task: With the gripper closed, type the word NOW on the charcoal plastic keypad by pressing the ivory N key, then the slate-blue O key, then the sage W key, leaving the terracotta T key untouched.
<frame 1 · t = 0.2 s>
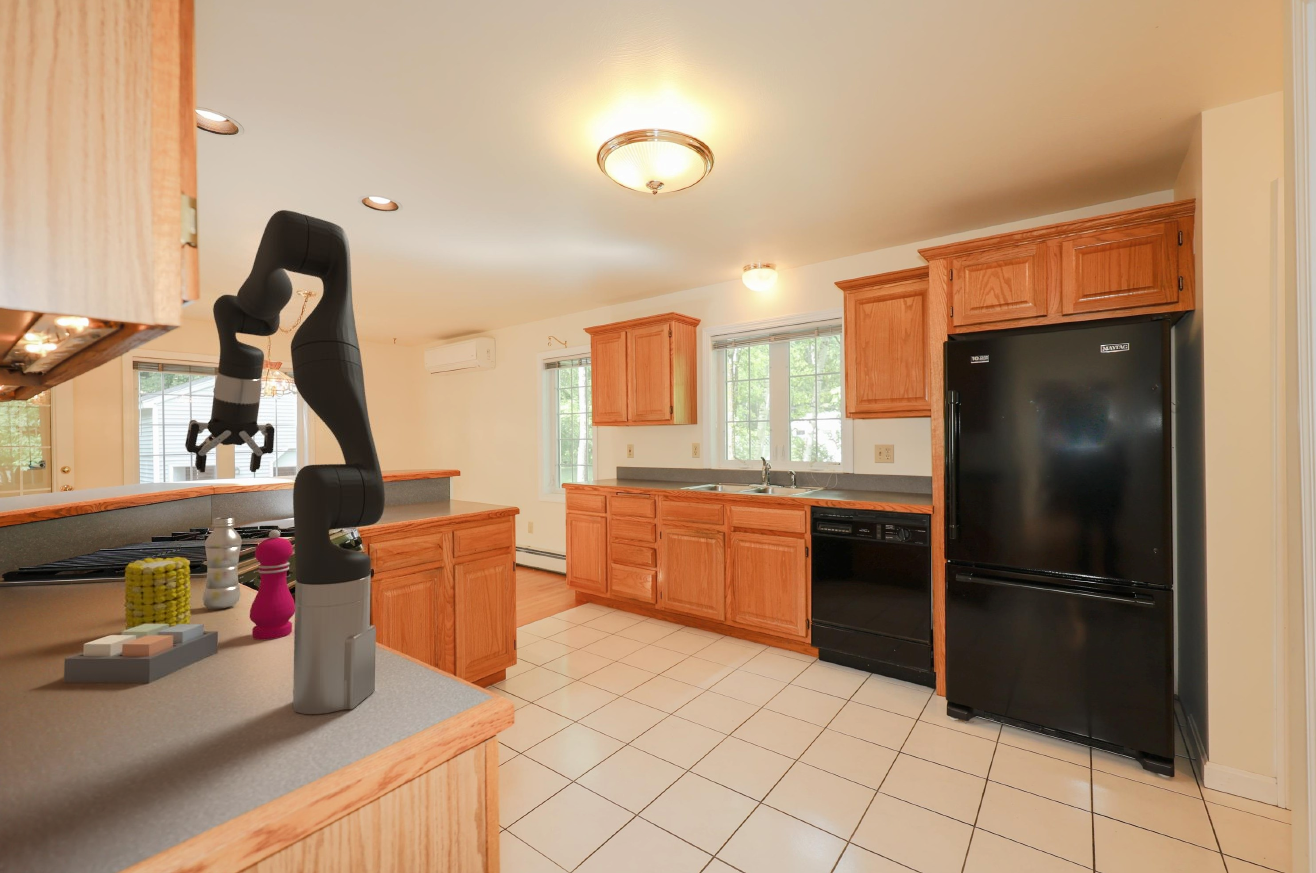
hand: (227, 471, 116), 31 cm above the counter, tool tilted 20°, fingers open, 8 cm apart
pepper mill: (272, 635, 107), on the counter
key T: (148, 650, 88), point 4 cm above the counter, slide at 0.0 cm
food: (157, 633, 108), on the counter
key N: (110, 649, 88), point 4 cm above the counter, slide at 0.0 cm
key W: (145, 637, 94), point 4 cm above the counter, slide at 0.0 cm
key O: (180, 637, 94), point 4 cm above the counter, slide at 0.0 cm
plastic bottle: (221, 608, 125), on the counter
keypad: (146, 666, 91), on the counter
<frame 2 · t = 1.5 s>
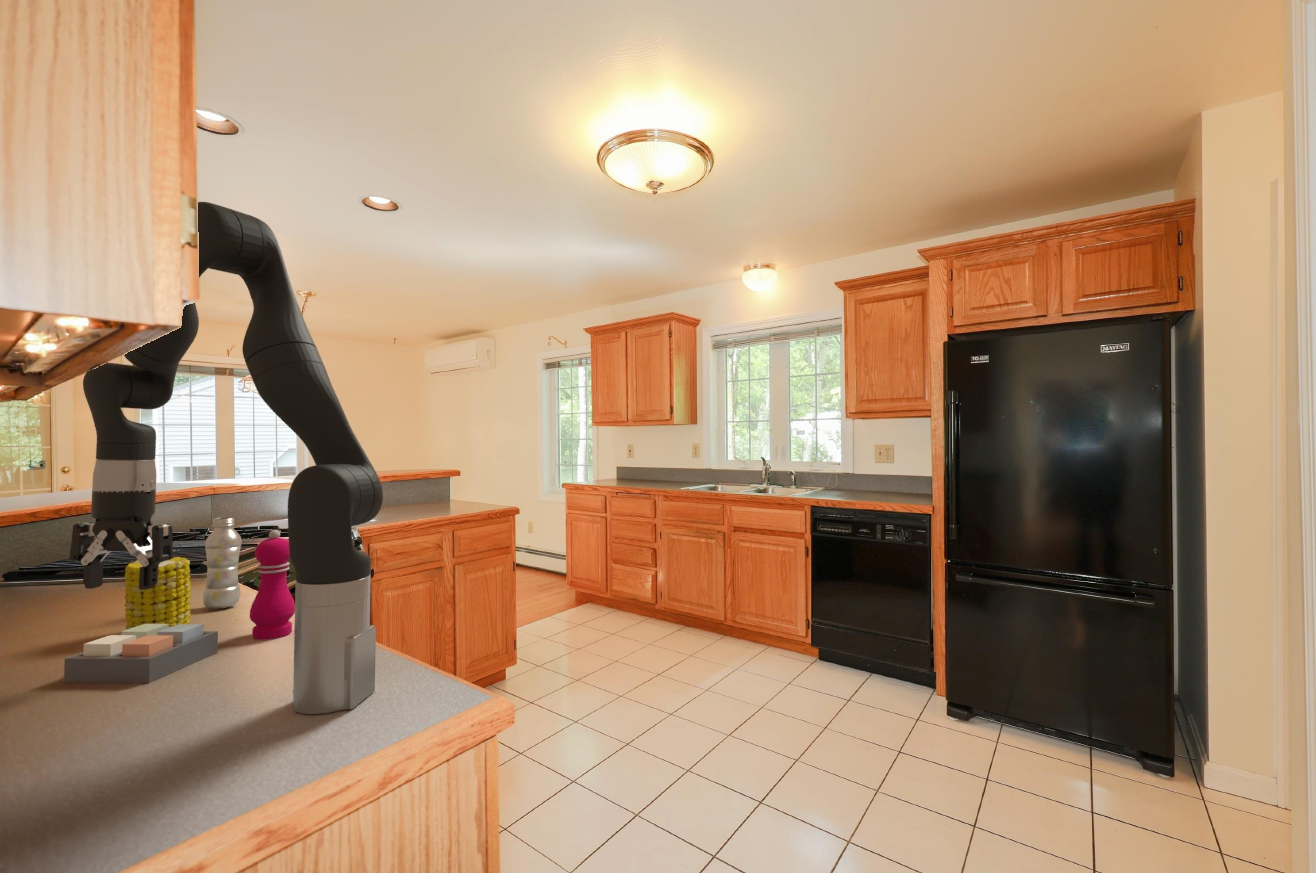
hand: (120, 588, 90), 13 cm above the counter, tool pointing down, fingers open, 8 cm apart
nothing on the counter moved.
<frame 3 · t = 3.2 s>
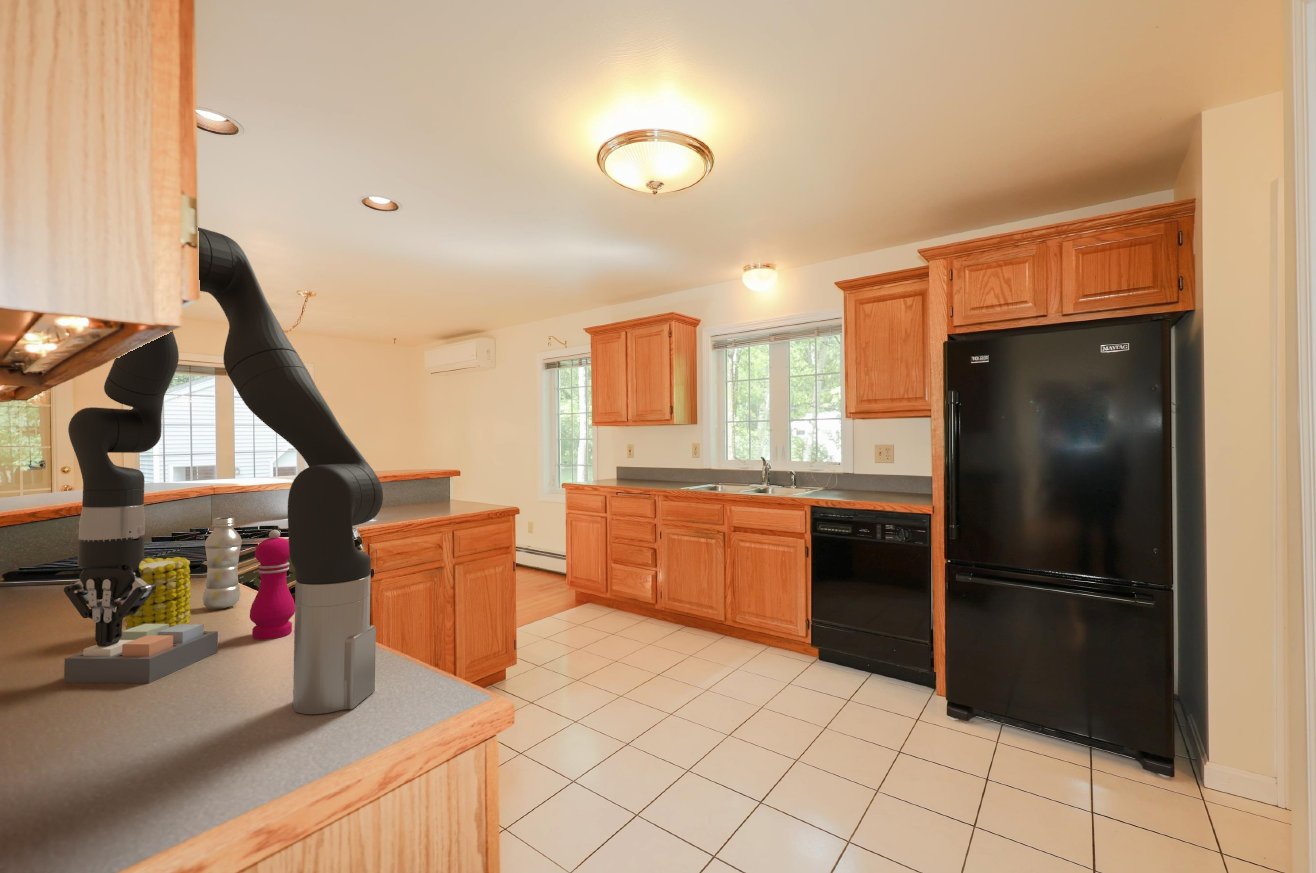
hand: (108, 644, 88), 5 cm above the counter, tool pointing down, fingers closed
key N: (110, 654, 88), point 3 cm above the counter, slide at -0.8 cm, touching gripper
everything else where it was.
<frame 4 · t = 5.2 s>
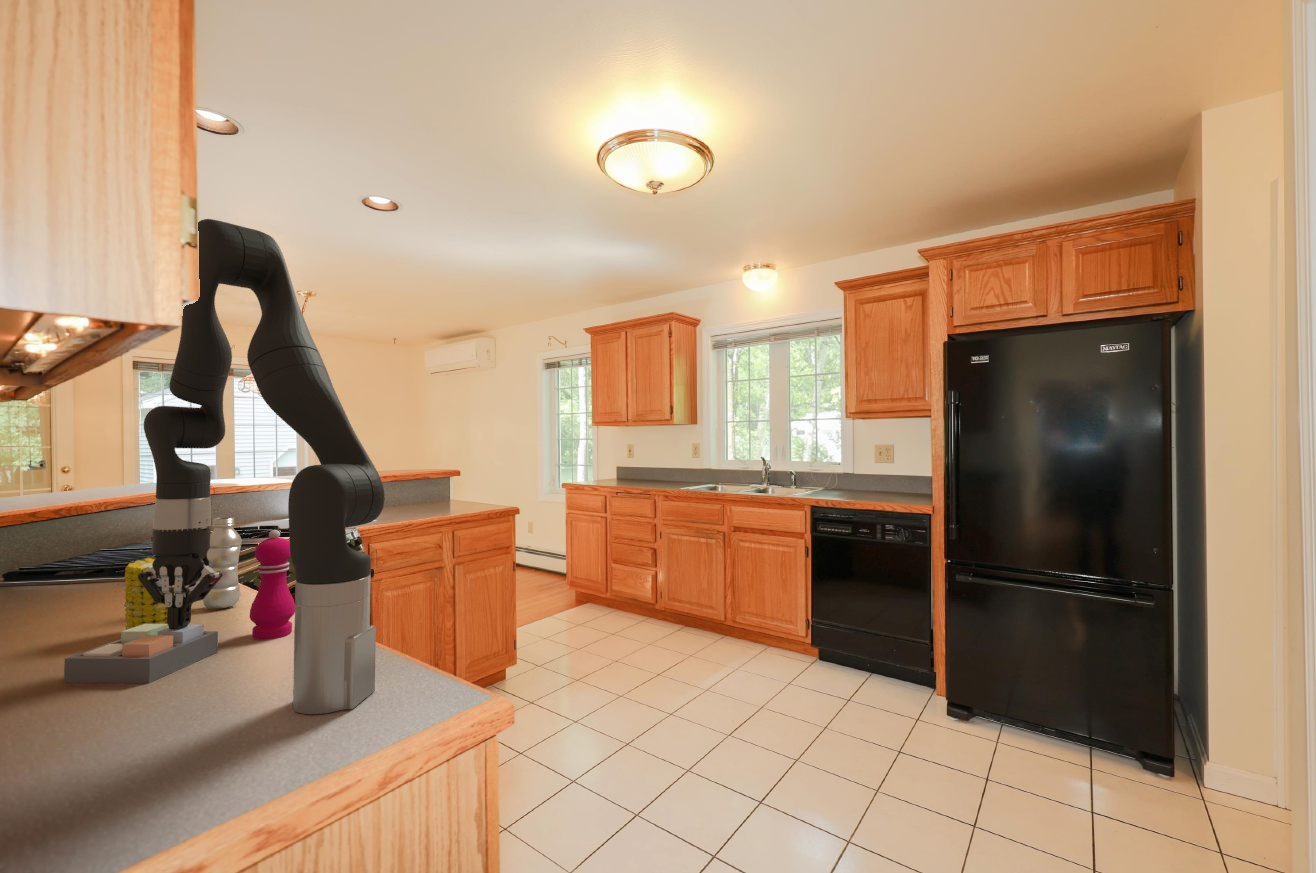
hand: (178, 627, 94), 5 cm above the counter, tool pointing down, fingers closed
key N: (110, 659, 88), point 2 cm above the counter, slide at -1.4 cm
key O: (180, 637, 94), point 4 cm above the counter, slide at 0.0 cm, touching gripper
everything else where it was.
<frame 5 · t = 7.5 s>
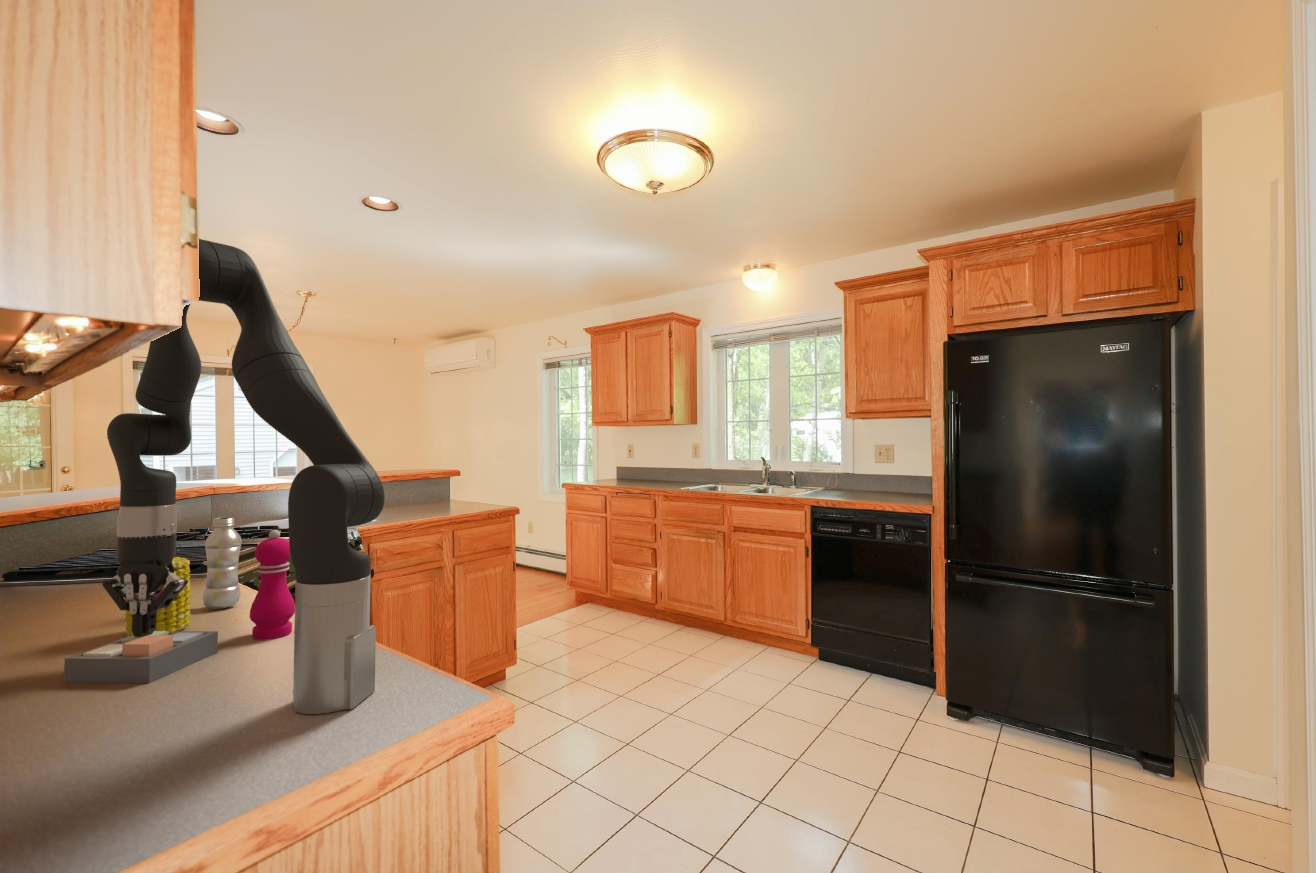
hand: (144, 634, 94), 4 cm above the counter, tool pointing down, fingers closed
key W: (145, 644, 94), point 2 cm above the counter, slide at -1.3 cm, touching gripper
key O: (180, 646, 94), point 2 cm above the counter, slide at -1.4 cm
everything else where it was.
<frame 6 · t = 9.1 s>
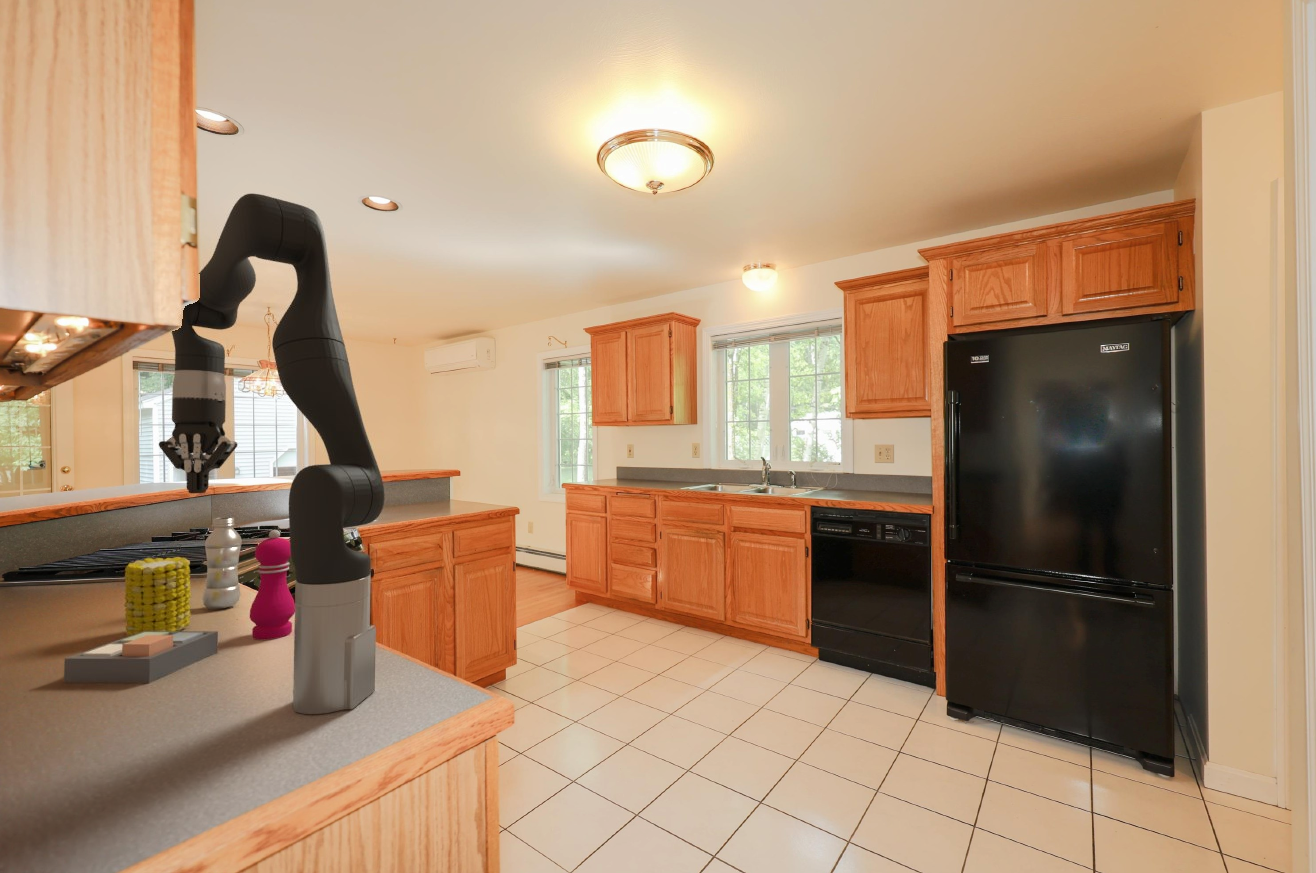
hand: (197, 492, 101), 27 cm above the counter, tool pointing down, fingers closed
key W: (145, 645, 94), point 2 cm above the counter, slide at -1.4 cm
everything else where it was.
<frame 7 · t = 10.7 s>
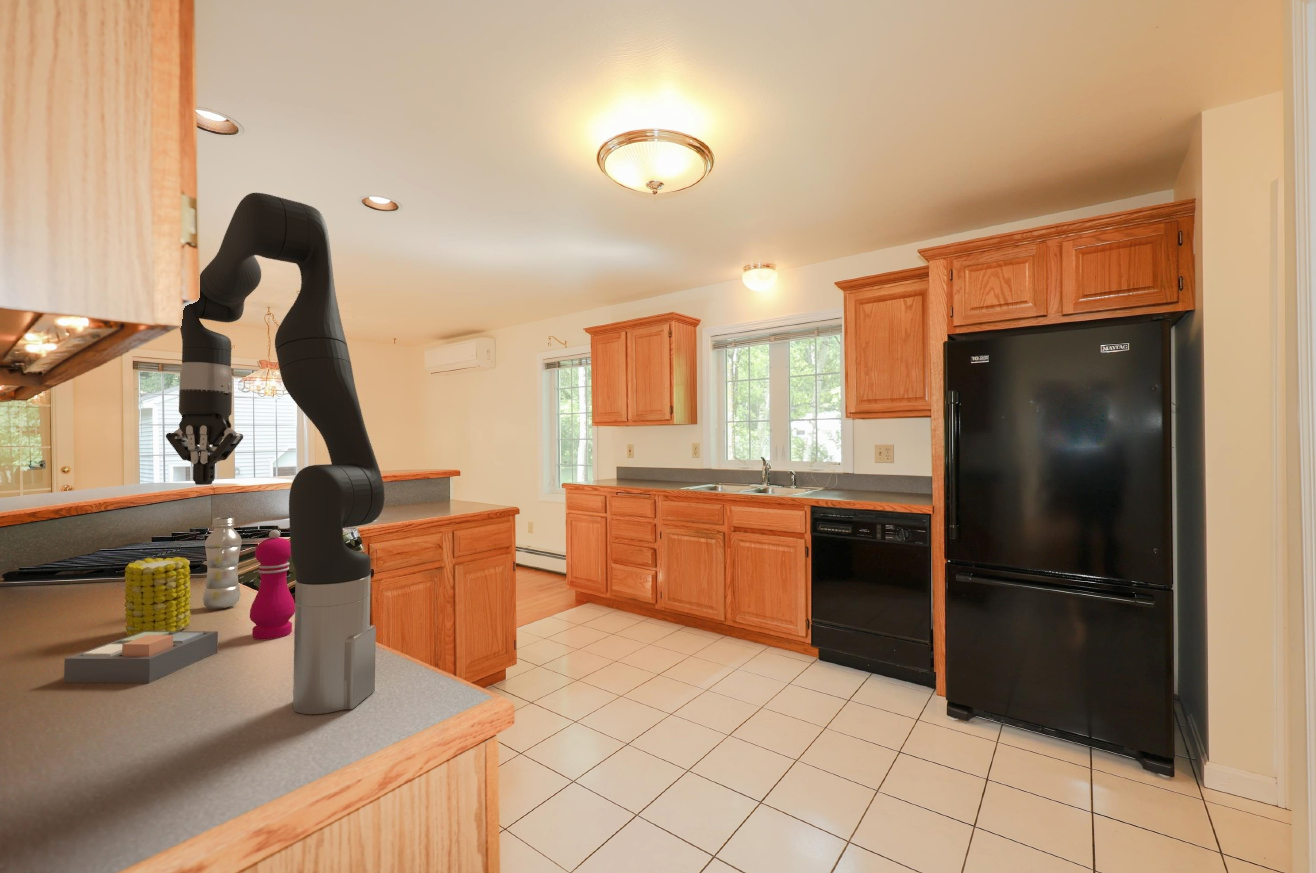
hand: (203, 484, 102), 29 cm above the counter, tool pointing down, fingers closed
nothing on the counter moved.
at the end: key N slide at -1.4 cm; key W slide at -1.4 cm; key T slide at 0.0 cm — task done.
